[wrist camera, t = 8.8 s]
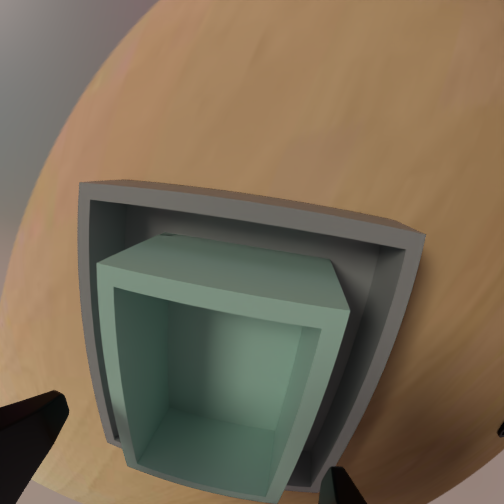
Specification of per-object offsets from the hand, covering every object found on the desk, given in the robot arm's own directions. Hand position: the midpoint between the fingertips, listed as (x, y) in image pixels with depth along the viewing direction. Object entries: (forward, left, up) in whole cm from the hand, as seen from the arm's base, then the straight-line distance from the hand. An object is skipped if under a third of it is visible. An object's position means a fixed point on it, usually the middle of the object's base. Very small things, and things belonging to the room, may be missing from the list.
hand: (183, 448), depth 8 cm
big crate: (0, 0, -7) cm, 7 cm away
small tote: (0, 0, -6) cm, 6 cm away
